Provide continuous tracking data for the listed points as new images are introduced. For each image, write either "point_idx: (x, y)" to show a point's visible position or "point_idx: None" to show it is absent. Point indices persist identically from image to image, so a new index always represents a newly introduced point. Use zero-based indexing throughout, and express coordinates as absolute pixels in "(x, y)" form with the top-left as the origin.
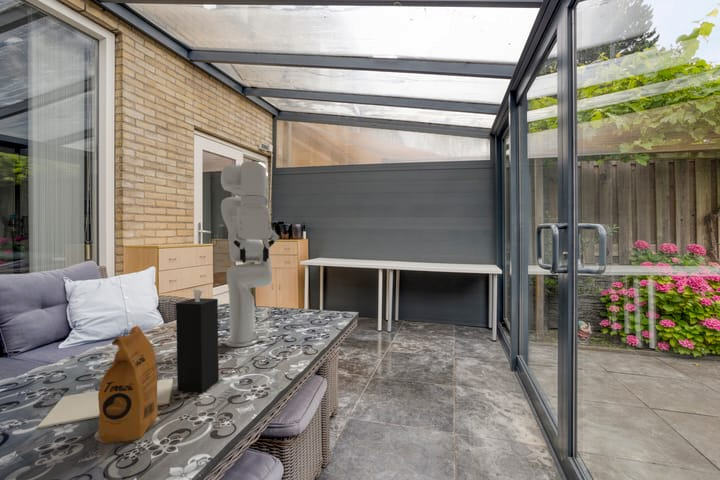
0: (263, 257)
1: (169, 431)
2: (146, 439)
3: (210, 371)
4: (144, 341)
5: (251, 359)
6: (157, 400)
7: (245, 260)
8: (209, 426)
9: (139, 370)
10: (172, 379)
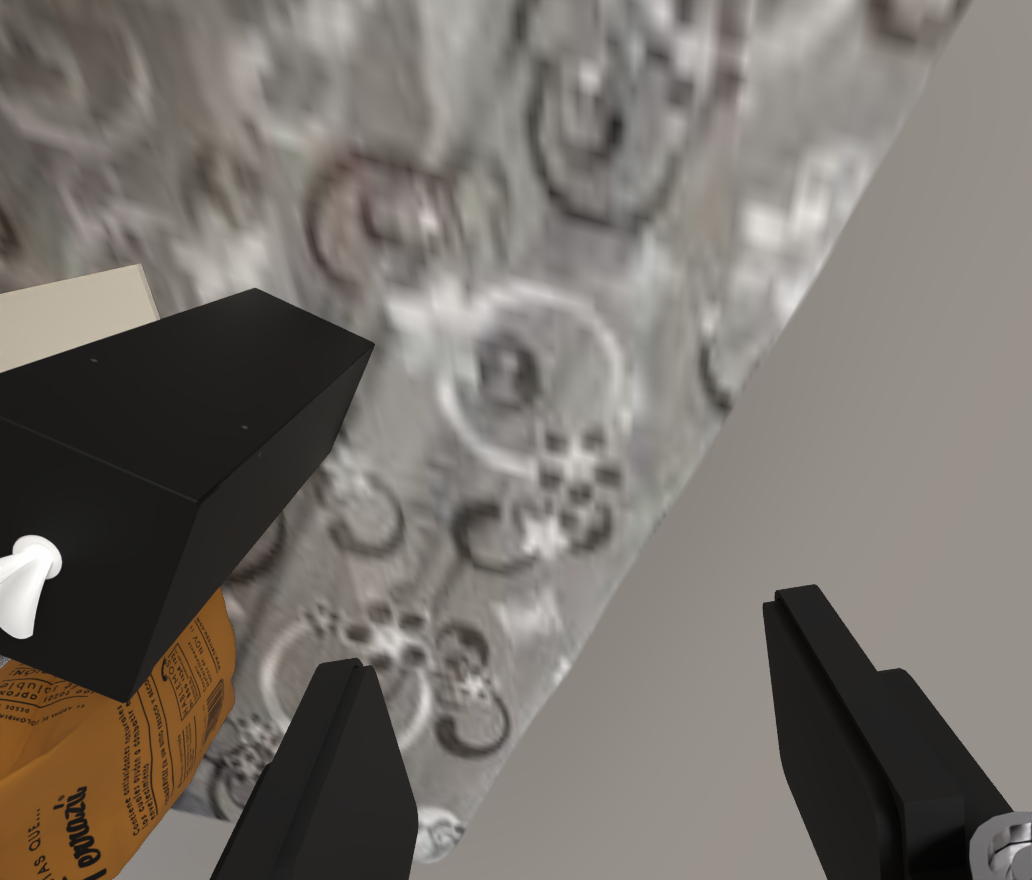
0: (794, 722)
1: (305, 690)
2: (254, 713)
3: (333, 418)
4: (6, 798)
5: (512, 39)
6: None
7: (410, 844)
8: (423, 693)
9: (110, 831)
10: (140, 279)
